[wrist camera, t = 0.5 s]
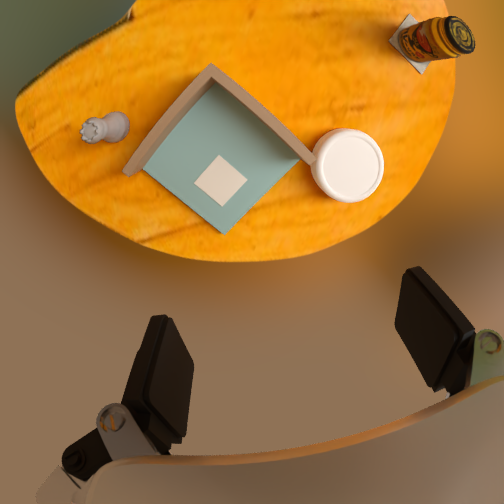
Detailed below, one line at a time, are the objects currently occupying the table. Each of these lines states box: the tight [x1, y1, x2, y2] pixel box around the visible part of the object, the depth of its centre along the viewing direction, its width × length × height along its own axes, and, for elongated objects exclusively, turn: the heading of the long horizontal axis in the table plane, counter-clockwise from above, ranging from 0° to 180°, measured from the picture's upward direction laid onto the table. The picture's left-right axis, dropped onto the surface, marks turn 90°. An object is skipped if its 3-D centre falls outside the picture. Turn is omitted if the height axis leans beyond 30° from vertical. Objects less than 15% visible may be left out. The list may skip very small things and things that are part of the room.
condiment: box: [389, 14, 475, 74], centre depth 20 cm, size 7×8×12 cm
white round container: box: [310, 128, 384, 203], centre depth 34 cm, size 10×10×4 cm
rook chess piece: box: [80, 112, 130, 144], centre depth 27 cm, size 4×4×8 cm
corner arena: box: [122, 63, 317, 235], centre depth 31 cm, size 16×16×6 cm
